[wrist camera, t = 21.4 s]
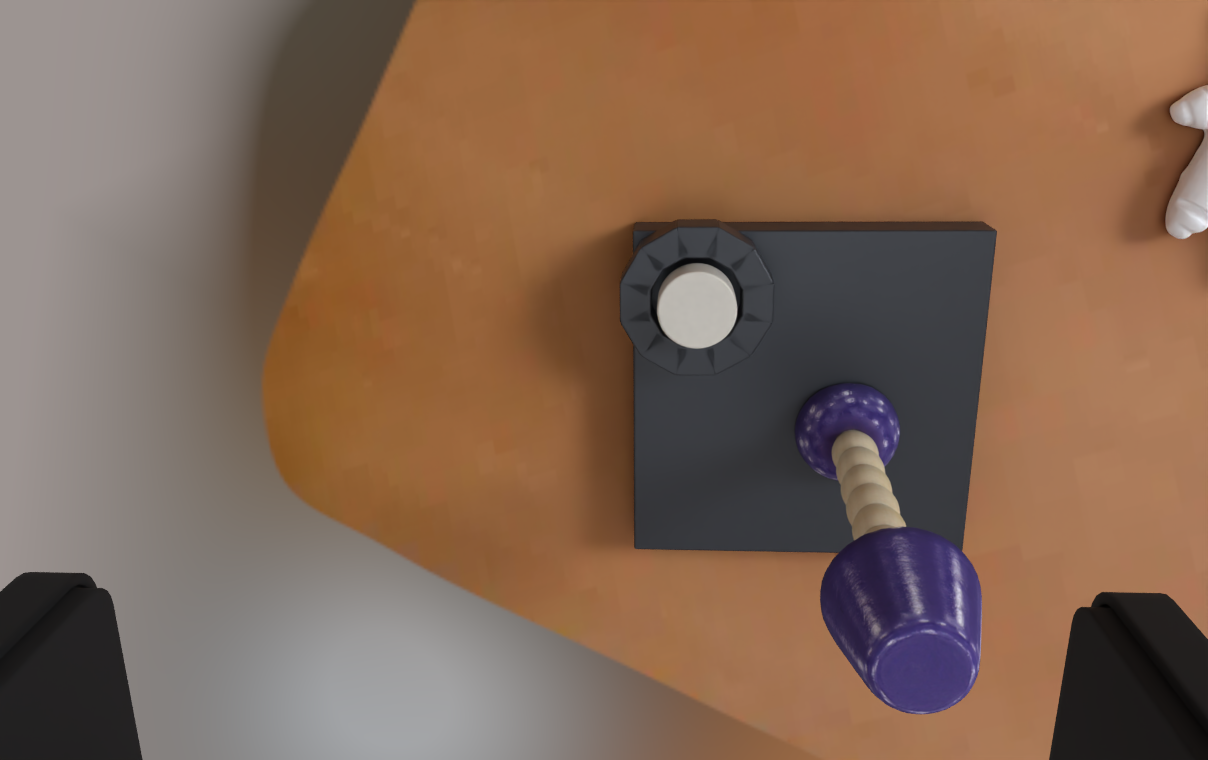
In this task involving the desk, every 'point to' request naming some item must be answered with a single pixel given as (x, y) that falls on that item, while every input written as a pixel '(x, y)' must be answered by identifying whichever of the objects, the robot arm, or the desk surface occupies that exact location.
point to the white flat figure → (1191, 170)
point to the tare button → (696, 306)
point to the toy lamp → (889, 564)
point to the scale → (804, 376)
